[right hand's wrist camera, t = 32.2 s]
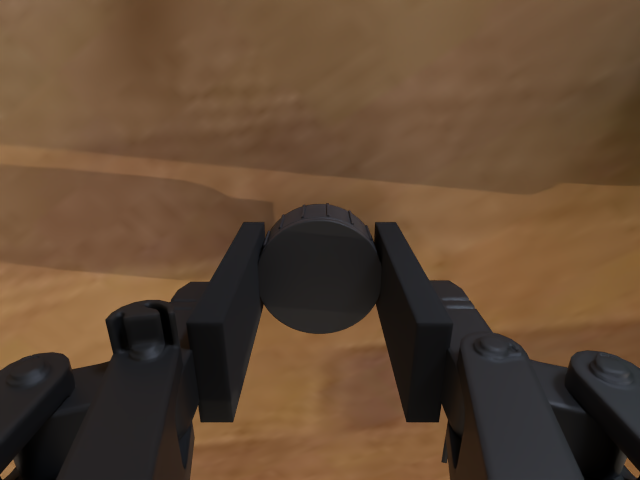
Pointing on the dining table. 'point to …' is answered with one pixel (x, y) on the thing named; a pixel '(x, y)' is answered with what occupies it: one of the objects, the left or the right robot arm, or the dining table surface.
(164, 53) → the dining table surface
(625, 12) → the dining table surface
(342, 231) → the cap
